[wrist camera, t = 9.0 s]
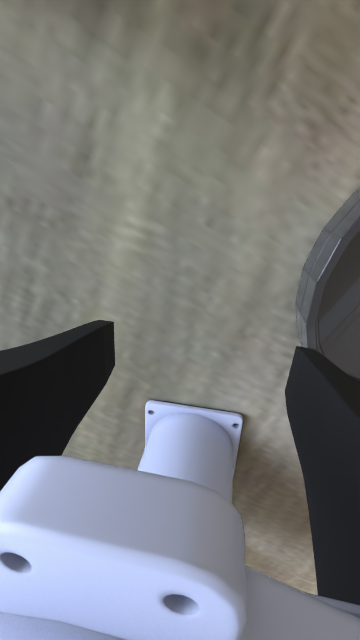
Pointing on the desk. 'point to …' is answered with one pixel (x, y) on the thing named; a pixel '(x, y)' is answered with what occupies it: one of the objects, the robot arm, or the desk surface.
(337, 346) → the pan
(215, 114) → the desk surface
